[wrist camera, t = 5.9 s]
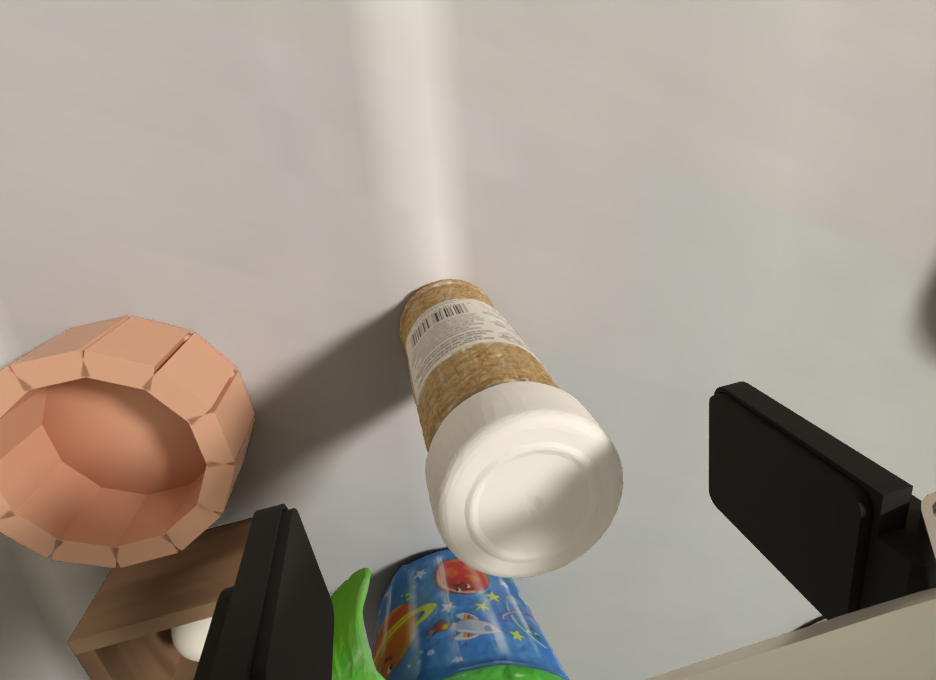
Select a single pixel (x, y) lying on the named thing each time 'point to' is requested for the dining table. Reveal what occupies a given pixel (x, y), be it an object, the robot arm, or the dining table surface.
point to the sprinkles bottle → (503, 440)
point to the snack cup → (440, 627)
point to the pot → (119, 442)
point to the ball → (191, 638)
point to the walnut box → (157, 608)
